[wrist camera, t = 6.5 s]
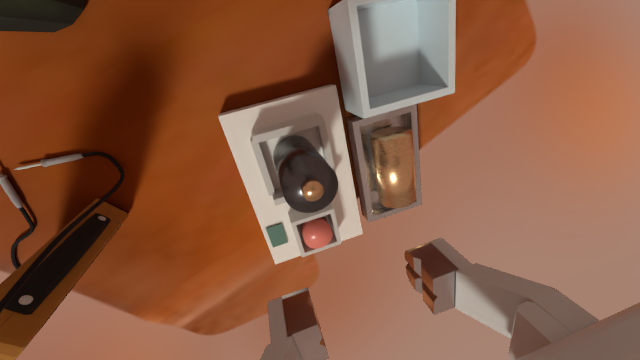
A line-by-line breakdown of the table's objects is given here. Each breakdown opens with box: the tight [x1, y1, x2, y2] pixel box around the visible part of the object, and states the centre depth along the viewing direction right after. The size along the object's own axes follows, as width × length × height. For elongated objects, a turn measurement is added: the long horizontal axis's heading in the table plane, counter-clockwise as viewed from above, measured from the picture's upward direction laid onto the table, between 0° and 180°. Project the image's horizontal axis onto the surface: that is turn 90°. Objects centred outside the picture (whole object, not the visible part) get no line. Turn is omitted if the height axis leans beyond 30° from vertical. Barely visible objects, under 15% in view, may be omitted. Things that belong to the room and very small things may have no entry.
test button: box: [301, 216, 333, 249], centre depth 26 cm, size 3×3×2 cm
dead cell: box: [273, 135, 338, 213], centre depth 21 cm, size 4×4×8 cm
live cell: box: [370, 126, 416, 208], centre depth 26 cm, size 8×4×4 cm, turn 12°
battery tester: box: [218, 84, 362, 264], centre depth 25 cm, size 16×10×4 cm, turn 12°
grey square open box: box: [328, 0, 456, 119], centre depth 22 cm, size 8×8×4 cm
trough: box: [346, 104, 422, 222], centre depth 27 cm, size 11×6×2 cm, turn 12°
